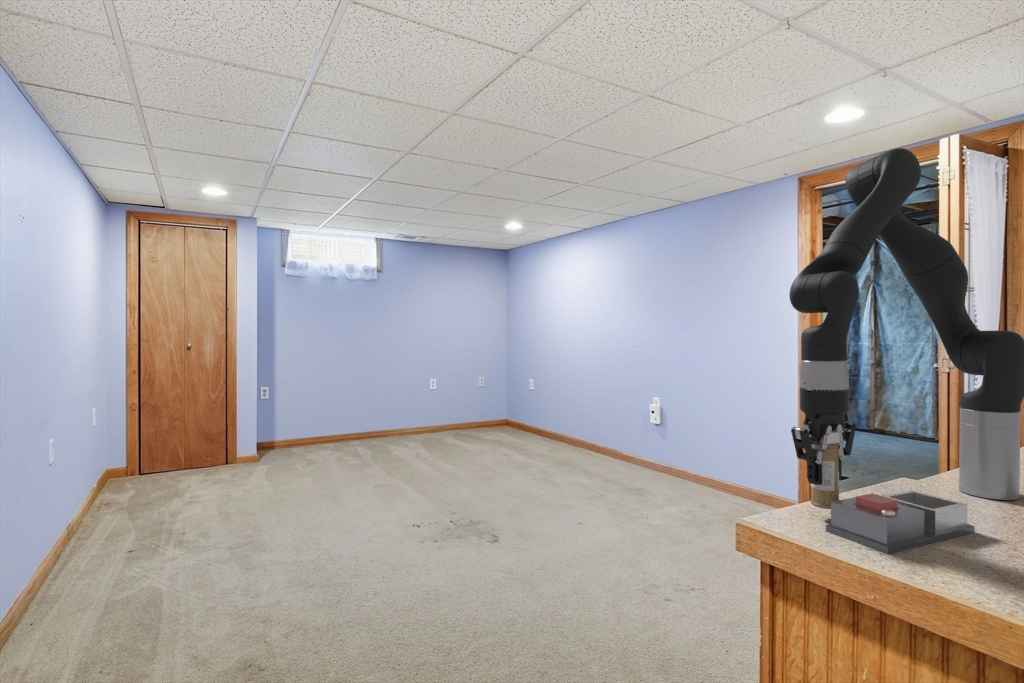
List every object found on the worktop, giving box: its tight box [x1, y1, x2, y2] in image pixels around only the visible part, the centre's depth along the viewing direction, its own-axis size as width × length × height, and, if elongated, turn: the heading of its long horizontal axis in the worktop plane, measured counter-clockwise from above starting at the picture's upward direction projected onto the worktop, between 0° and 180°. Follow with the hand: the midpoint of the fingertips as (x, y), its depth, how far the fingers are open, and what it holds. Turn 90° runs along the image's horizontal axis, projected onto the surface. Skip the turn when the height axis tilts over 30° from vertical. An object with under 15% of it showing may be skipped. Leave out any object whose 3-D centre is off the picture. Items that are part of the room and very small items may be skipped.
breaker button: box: [855, 493, 897, 512], centre depth 86 cm, size 4×4×5 cm
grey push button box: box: [825, 490, 976, 554], centre depth 89 cm, size 22×10×6 cm, turn 113°
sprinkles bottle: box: [810, 431, 840, 510], centre depth 95 cm, size 5×5×13 cm
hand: (824, 481), depth 95 cm, fingers closed on sprinkles bottle, 4 cm apart
